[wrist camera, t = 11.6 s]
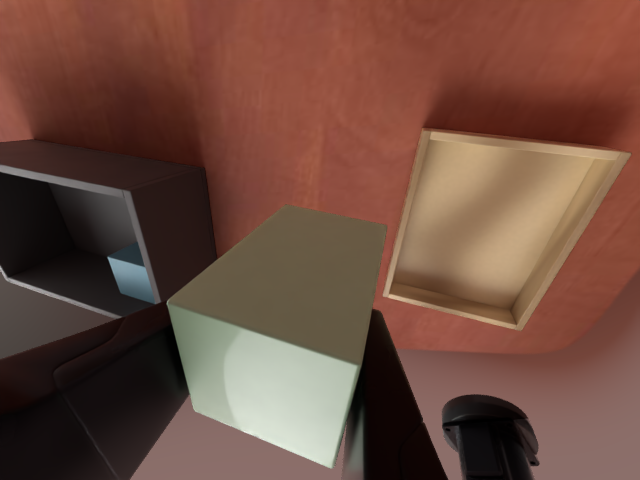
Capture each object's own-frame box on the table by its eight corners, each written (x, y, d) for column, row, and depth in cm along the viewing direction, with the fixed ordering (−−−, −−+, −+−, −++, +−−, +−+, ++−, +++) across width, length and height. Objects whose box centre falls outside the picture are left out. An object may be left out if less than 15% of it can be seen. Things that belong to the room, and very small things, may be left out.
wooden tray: (604, 146, 13) (632, 152, 12) (511, 310, 18) (521, 331, 17) (422, 127, 15) (423, 129, 13) (384, 280, 20) (382, 296, 19)
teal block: (165, 272, 21) (106, 256, 22) (174, 310, 23) (120, 293, 24) (199, 249, 24) (147, 236, 26) (205, 284, 26) (156, 270, 27)
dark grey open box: (204, 167, 21) (129, 190, 15) (221, 289, 27) (171, 338, 21) (32, 139, 25) (-75, 149, 20) (78, 249, 31) (6, 281, 25)
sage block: (388, 224, 9) (361, 364, 4) (367, 307, 11) (333, 471, 6) (285, 203, 10) (163, 300, 5) (282, 283, 12) (192, 411, 7)
